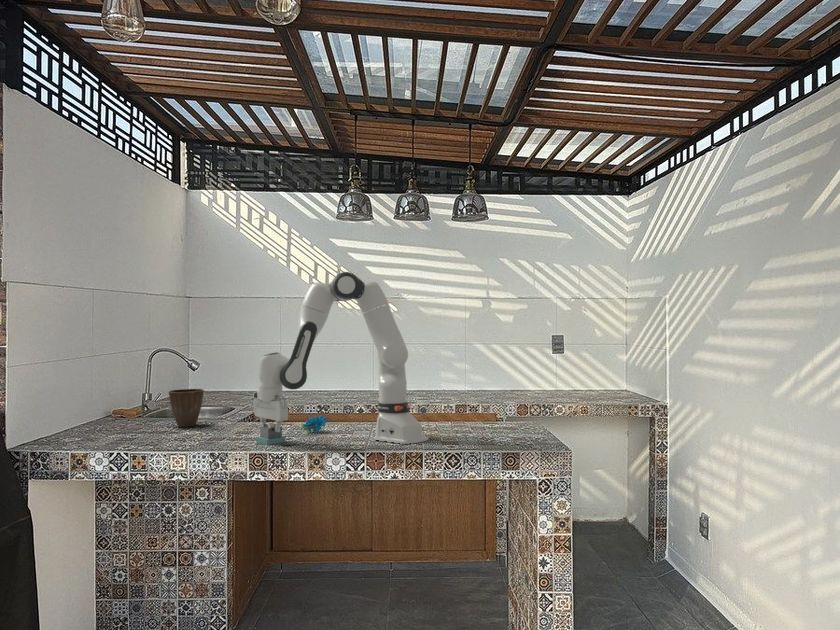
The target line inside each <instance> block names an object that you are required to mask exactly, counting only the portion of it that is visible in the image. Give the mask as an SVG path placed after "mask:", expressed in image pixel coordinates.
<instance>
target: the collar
mask: <svg viewBox="0 0 840 630" xmlns="http://www.w3.org/2000/svg"><path fill="white" fill-rule="evenodd" d="M275 426H276V424H273V427H271V428H269V427H268V426H262V425H261V426H260V427H259V429H260V430H259V431H260V432H259V433H260V434H259V437H262V438H266V439H272V438H279V437H282V436H283V426H281V427H280V432H275V431H274V427H275Z"/></svg>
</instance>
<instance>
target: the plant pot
mask: <svg viewBox="0 0 840 630" xmlns="http://www.w3.org/2000/svg"><path fill="white" fill-rule="evenodd" d="M204 391H205V390H204V389H203V388H184V389H183V388H182V389H181V388H180V389H173V390H169V391H168V395H169V402H170V405H171V409H172V410H171V411H172V414H173V416H174V419H175V422H176V424H177V427H178V426H179V427H178V428H189V427H188V426H192V427H195V426H196V424H197V423H198V419H199V416H200V413H201V410H202V406H203V405H202V404H203V398H204ZM194 425H195V426H194Z"/></svg>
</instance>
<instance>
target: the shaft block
mask: <svg viewBox="0 0 840 630" xmlns="http://www.w3.org/2000/svg"><path fill="white" fill-rule="evenodd" d="M267 424H268V427H269V428H271V427H273V425H274V423H267ZM255 441H256V443H257V442H258V444H262V445H265V446H270V445H275V444H276V445H277V444H282V443H283V442H284V443H286V436H283V435H282V437H279V438H272V439H266V438H262V437H260V436H256V439H255ZM284 443H283V444H284Z"/></svg>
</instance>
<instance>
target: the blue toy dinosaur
mask: <svg viewBox="0 0 840 630" xmlns="http://www.w3.org/2000/svg"><path fill="white" fill-rule="evenodd" d="M327 421H328V420H327V416H324V415H322V414H321V415H319V416H318V415H315V416H314V417H311V416H310V417H309V420H306V421H305V423H301V428H302V429H303V430H304V431H305V432H306V435H308V433H309V432H311V431H312V432H315V431H316V432H317V434H320V433H321V432H320V429H322V427H325V426H326V424H327V423H328V422H327Z"/></svg>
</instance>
